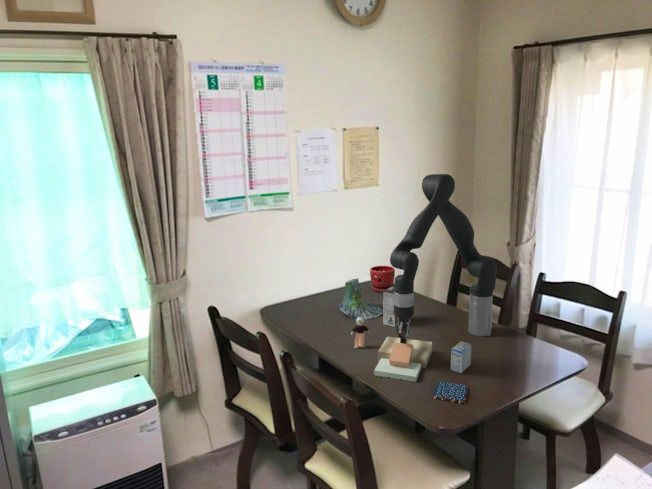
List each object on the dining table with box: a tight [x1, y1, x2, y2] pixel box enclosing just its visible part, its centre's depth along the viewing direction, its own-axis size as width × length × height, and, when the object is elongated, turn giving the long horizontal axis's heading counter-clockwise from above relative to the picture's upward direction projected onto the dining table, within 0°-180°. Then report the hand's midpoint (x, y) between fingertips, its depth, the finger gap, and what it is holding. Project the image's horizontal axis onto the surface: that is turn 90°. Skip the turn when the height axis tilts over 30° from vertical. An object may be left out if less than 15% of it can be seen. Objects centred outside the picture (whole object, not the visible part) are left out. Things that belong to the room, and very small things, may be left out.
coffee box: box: [382, 284, 399, 328], centre depth 221 cm, size 9×6×16 cm
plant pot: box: [369, 265, 396, 293], centre depth 266 cm, size 13×13×12 cm
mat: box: [373, 358, 422, 383], centre depth 179 cm, size 15×10×2 cm, turn 69°
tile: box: [389, 342, 413, 368], centre depth 182 cm, size 7×9×2 cm
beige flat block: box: [377, 336, 433, 369], centre depth 190 cm, size 18×14×4 cm
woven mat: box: [432, 380, 469, 404], centre depth 164 cm, size 10×11×2 cm
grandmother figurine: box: [350, 317, 371, 349], centre depth 199 cm, size 8×4×13 cm, turn 106°
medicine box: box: [450, 341, 472, 374], centre depth 180 cm, size 8×4×9 cm, turn 141°
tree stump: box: [338, 278, 383, 321], centre depth 235 cm, size 19×21×19 cm
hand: (403, 346), depth 187 cm, fingers closed
